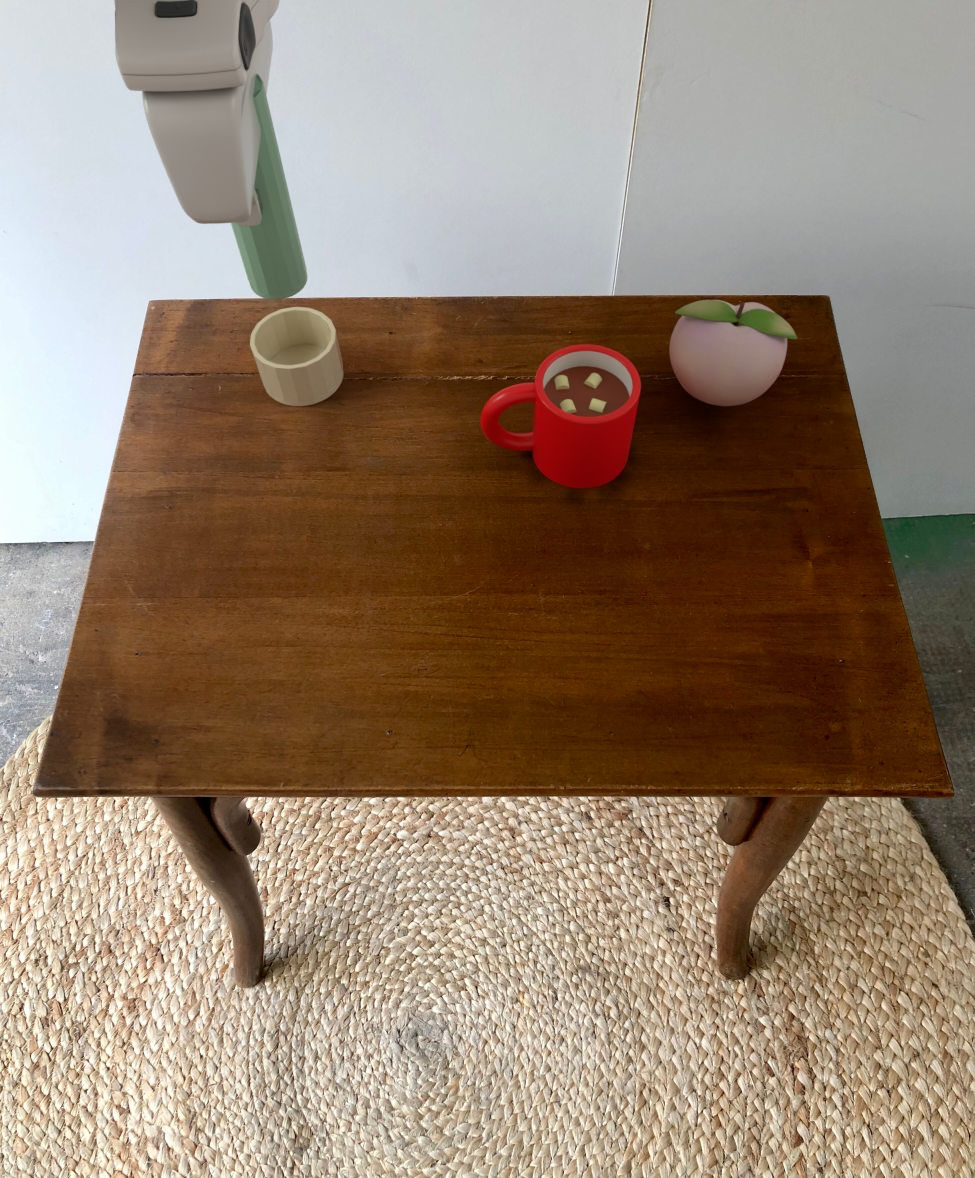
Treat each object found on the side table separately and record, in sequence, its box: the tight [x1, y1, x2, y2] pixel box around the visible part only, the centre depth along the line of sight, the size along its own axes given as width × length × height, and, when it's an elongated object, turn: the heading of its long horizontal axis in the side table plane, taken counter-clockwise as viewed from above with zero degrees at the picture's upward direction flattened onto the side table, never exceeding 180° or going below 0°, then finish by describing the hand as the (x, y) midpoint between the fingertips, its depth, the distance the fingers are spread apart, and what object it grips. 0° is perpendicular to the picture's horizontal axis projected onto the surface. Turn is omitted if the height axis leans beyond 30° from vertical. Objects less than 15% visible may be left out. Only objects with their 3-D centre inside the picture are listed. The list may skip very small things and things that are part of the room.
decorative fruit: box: [669, 299, 798, 407], centre depth 72 cm, size 9×8×10 cm
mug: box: [479, 343, 642, 489], centre depth 70 cm, size 8×12×8 cm, turn 95°
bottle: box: [230, 74, 308, 301], centre depth 61 cm, size 4×4×19 cm
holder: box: [249, 306, 345, 407], centre depth 76 cm, size 7×7×4 cm
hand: (254, 192), depth 63 cm, fingers closed on bottle, 4 cm apart
